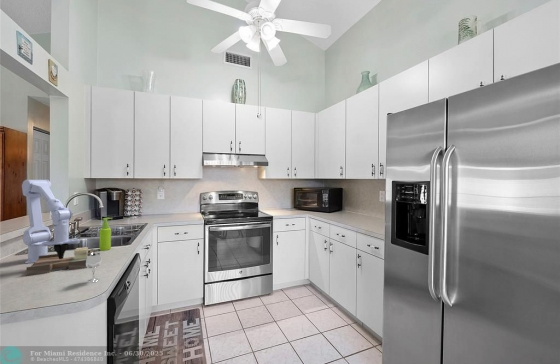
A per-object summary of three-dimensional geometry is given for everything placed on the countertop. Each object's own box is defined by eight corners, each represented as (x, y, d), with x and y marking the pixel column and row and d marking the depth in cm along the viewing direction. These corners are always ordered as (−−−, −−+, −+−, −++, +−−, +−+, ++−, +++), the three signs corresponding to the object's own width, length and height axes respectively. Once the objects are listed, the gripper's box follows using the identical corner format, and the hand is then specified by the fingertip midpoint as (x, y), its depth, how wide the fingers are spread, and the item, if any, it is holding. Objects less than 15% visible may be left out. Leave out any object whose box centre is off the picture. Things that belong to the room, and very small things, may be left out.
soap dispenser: (114, 248, 158) (115, 217, 157) (103, 251, 151) (104, 219, 151) (108, 247, 160) (108, 216, 159) (97, 250, 153) (97, 218, 153)
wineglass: (91, 278, 112) (91, 252, 112) (104, 278, 113) (104, 252, 113) (82, 283, 107) (82, 256, 106) (95, 283, 107) (96, 256, 107)
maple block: (76, 257, 132) (76, 248, 132) (87, 256, 134) (87, 247, 134) (74, 260, 127) (74, 250, 127) (86, 258, 130) (86, 249, 130)
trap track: (39, 262, 129) (39, 254, 129) (93, 256, 141) (93, 248, 141) (26, 275, 113) (26, 266, 113) (88, 267, 125) (88, 258, 125)
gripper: (39, 235, 119) (39, 263, 119) (78, 232, 127) (77, 258, 127) (44, 232, 125) (43, 258, 125) (80, 230, 133) (80, 254, 133)
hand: (61, 258), depth 127 cm, fingers closed
